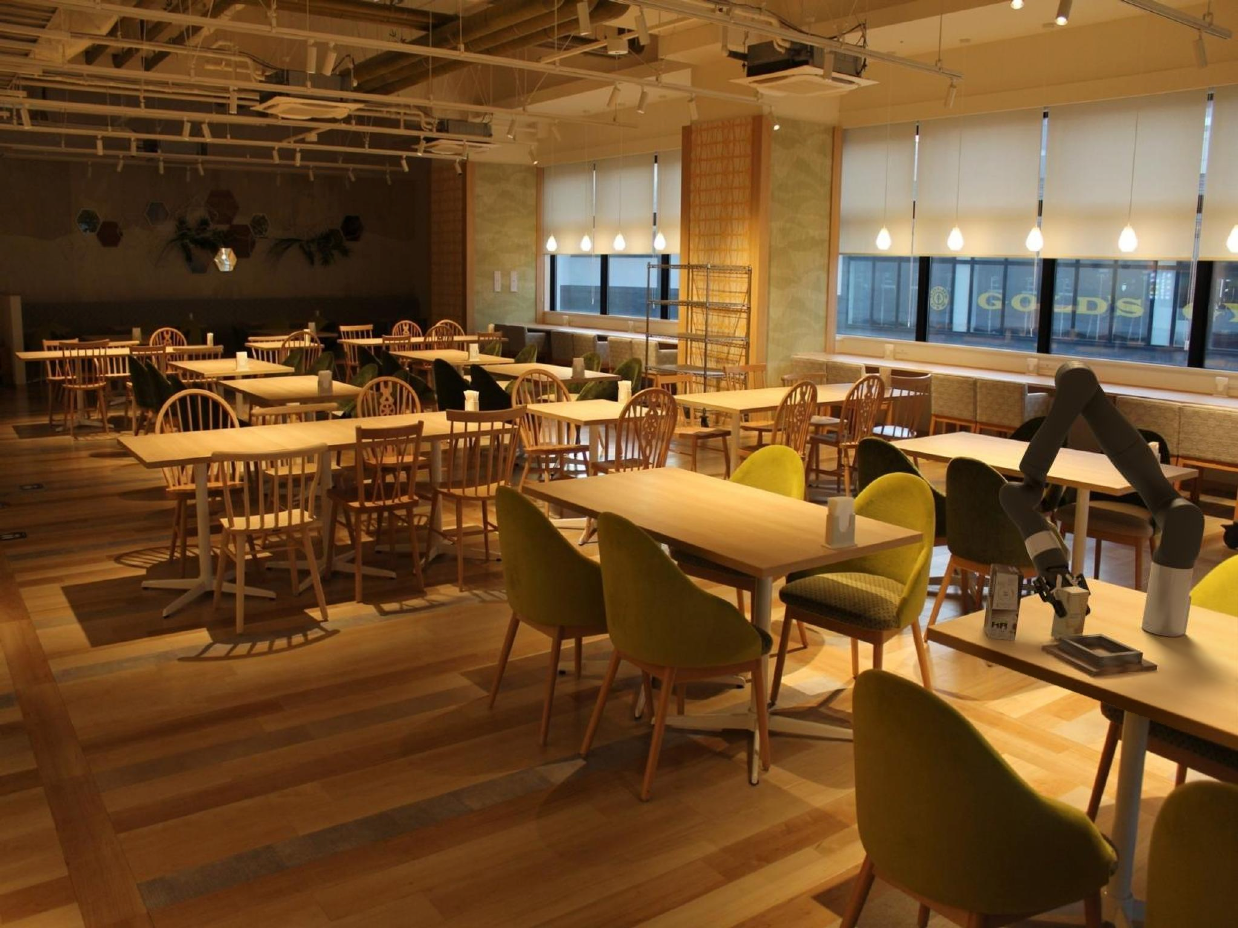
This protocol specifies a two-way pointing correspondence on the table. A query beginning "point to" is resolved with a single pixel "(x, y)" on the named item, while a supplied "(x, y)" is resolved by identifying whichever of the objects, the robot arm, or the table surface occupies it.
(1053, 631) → the skincare box
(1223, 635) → the table surface
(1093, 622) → the table surface
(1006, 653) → the table surface
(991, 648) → the table surface
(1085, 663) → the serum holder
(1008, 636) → the coffee box
